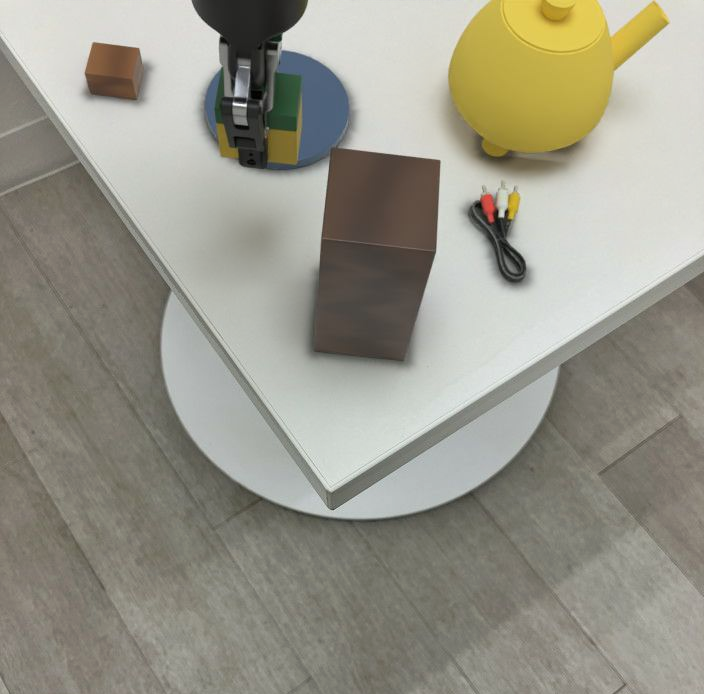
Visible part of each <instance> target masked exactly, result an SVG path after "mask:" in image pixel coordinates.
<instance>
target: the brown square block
mask: <svg viewBox="0 0 704 694" xmlns="http://www.w3.org/2000/svg"><path fill="white" fill-rule="evenodd" d="M144 68H145V67H144V63H143V59H142V54H141V48H140V47H136V46H135V47H134V46H126V45H119V44H112V43H104V42H97V41H93V42H92V44H91V47H90V51H89V55H88V58H87V61H86V66H85V70H84V77H85V79H86V83H87V86H88V87H87V88H88V90H89V94H90V95H98V96H105V97H114V98H122V99H129V100H137V99H138V95H139V92H140V86H141V82H142V78H143V73H144Z"/></svg>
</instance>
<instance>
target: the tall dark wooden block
mask: <svg viewBox="0 0 704 694" xmlns="http://www.w3.org/2000/svg"><path fill="white" fill-rule="evenodd" d="M329 155H330V156H329V163H328V170H327V171H328V172H327V180H326V191H325V199H324V210H323V217H322V226H321V236H320V248H319V265H318V266H319V267H318V282H317V295H316V311H315V327H314V339H313V340H314V341H313V342H314V343H313V351H314V352H319V353H329V354H337V355H338V354H339V355H347V356H355V357H357V356H358V357H366V358H374V359H375V358H376V359H385V360H395V361H406V356H407V353H408V349H409V346H410V343H411V339H412V335H413V333H414V332H413V331H414V329H415V326H416V322H417V319H418V316H419V312H420V308H421V305H422V301H423V298H424V294H425V291H426V288H427V285H428V282H429V278H430V275H431V271H432V267H433V264H434V261H435V257H436V254H437V247H438V245H437V244H438V224H439V223H438V222H439V205H440V203H439V202H440V186H441V185H440V184H441V164H442V163H441V162H442V161H441V159H435V158H428V157H427V158H426V157H419V156H411V155H404V154H403V155H402V154H393V153H387V152H386V153H384V152H377V151H368V150H359V149H351V148H343V147H336V148H335V147H332V148H331V152H330V153H329Z"/></svg>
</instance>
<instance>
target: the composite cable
mask: <svg viewBox="0 0 704 694" xmlns="http://www.w3.org/2000/svg"><path fill="white" fill-rule="evenodd" d="M500 184H501V185H500V187H498V188H497V191H496V193H495V203H494V199H493V195H492V194H491V192H490V191H488V190H487V187H486V185H485V184H482V185H481V189H482V193H480V198H479V199H476V200H474V201H473V202H472V204H471V205H470V206H469V208H468V213H469V215H470V217H471V219H472V221H473V222H474V223H475V224H476V225H477V226H478V227H479V228H480V229H481V230H482V231H483V232H484V233H485V234H486V235H487V236H488V237H489V238H490V240H491V242H492V243H493V245H494V248H495V252H496V257H497V262H498V266H499V270H500V272H501V274H502V276H503V277H504V278H505V279H506V280H508V281H510V282H513V283H517V282H521V281H522V280H523V279H524V278H525V276H526V274H527V273H526V272H527V262H526V259H525V257H523V255H522V254H521V253H520V252H519V251H518V250H517V249H515V248H514V246H512V244H510V242H509V241H508V240H507V238H508V235H509V231H510V229H511V227H512V222H513V221H514V218H515V215H516V214H517V213H518V212H519V207H520V202H521V195H520V193H519V191H518V190H519V186H518V185H514V187H513V191H512V192H511V193H509V192H510V191H509V190H508V188H507V187H506V181H505V180H501V183H500ZM476 209H479V210H481V211H482V213H483V215H484V216H485V217H486V218H487V222H486V221H484V220H483V218H482V217H481V216H480V215H479V214H478V213H477V210H476ZM504 253H505V254H506V255H507V256H508V257H509V259H510V260H511V261H512V262H513V263H514V264H515V265H516V266H517V268H518V270H519V272H512V271H511V270H510V269H509V267H508V265H507V263H506V259H505V255H504Z"/></svg>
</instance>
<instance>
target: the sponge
mask: <svg viewBox="0 0 704 694" xmlns="http://www.w3.org/2000/svg"><path fill="white" fill-rule="evenodd" d="M220 69H221V72H220V77H219V83H218V88H217V94H216V100H215V105H214V112H215V119H216V126H217V134H218V141H219V143H218V147H219V155H220V157H221V158H228V159H238V160H239V157H238V148H230V147H229V143H228V139H227V136H226V132H225V128H224V124H223V120H222V116H221V110H220V109H219V105H220V102H221V100H222V96H225V94H224V69H223V66H221V67H220ZM234 83H235V82H234ZM251 90H256V89H251ZM264 90H266V86H265V87H263V88H261V89H258V91H264ZM268 126H270V129H269V133H268V134H267V135H268V162H274V163H284V164H293V165H297V161H298V153H299V145H300V137H301V129H302V75H295V74H285V73H276V80H275V101H274V105H273V109H272V110H271V111H268Z"/></svg>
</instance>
